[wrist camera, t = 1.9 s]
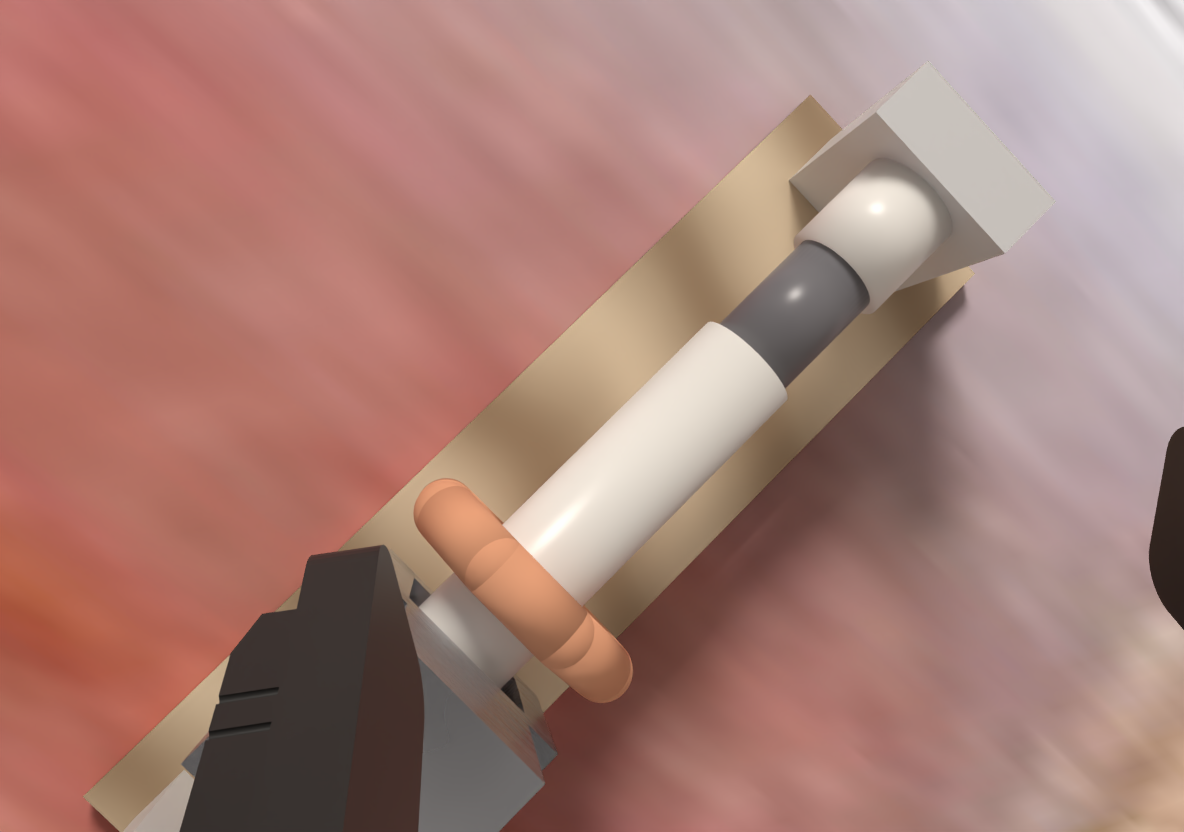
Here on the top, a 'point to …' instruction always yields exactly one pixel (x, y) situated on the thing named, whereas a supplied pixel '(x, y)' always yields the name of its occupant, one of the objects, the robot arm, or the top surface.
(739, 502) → the base board
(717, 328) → the rod
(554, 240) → the top surface
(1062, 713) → the top surface
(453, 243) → the top surface
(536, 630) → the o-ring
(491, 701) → the grooved slider block
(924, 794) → the top surface
